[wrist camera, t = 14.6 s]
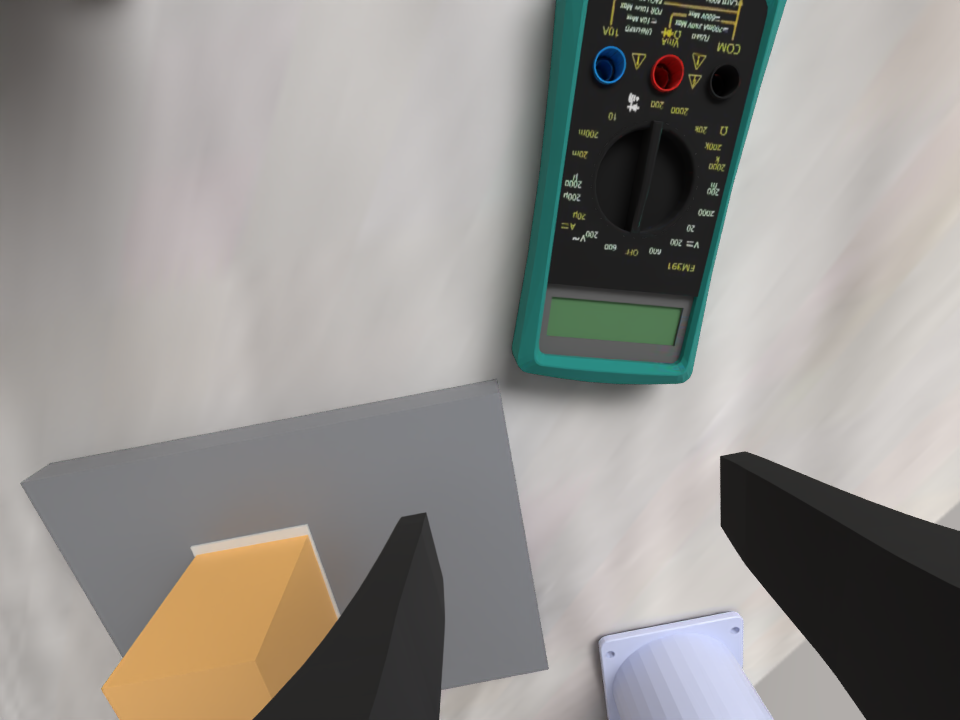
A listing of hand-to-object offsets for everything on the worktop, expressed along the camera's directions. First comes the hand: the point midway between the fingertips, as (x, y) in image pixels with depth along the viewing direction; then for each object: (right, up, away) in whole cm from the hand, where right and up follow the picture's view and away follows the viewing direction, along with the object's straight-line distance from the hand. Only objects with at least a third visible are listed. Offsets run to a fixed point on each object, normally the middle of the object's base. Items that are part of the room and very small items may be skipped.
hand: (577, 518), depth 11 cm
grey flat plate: (-10, -6, +12) cm, 17 cm away
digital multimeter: (+3, +11, +8) cm, 14 cm away
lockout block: (-12, -7, +10) cm, 17 cm away
